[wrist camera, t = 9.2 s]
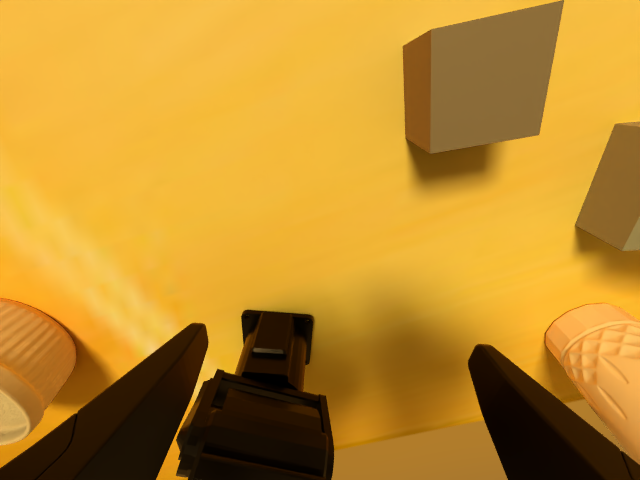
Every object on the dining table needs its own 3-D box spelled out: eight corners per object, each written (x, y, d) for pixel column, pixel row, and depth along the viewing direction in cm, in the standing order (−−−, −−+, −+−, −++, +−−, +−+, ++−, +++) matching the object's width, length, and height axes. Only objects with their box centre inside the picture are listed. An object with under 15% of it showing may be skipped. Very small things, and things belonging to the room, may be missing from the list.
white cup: (625, 348, 26) (773, 476, 18) (536, 365, 28) (632, 491, 19) (639, 286, 23) (831, 408, 14) (537, 310, 24) (653, 433, 16)
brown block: (485, 123, 17) (539, 135, 13) (405, 138, 18) (430, 153, 14) (495, 26, 15) (563, 0, 11) (402, 46, 16) (431, 29, 11)
